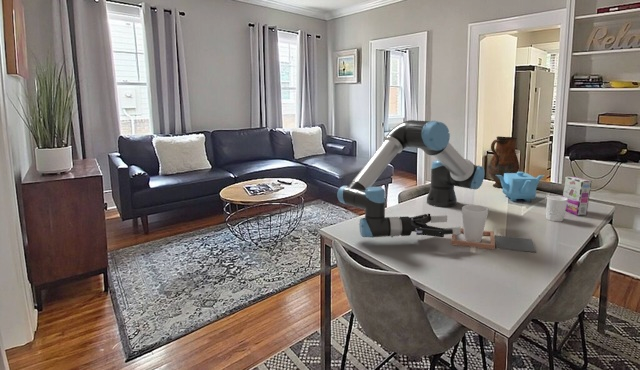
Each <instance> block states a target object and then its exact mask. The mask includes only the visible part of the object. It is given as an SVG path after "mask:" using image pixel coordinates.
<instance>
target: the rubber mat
mask: <svg viewBox="0 0 640 370" xmlns="http://www.w3.org/2000/svg"><path fill="white" fill-rule="evenodd" d="M494 238H495V247H496V249H500V250H508V251H517V252H524V253H534V254H536V253H537V250H536V247H535V244H534V242H533V239H532V238H526V237H515V236H514V237H513V236H505V235H497V234H496V235H495V234H494Z"/></svg>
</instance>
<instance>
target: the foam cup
mask: <svg viewBox="0 0 640 370" xmlns="http://www.w3.org/2000/svg"><path fill="white" fill-rule="evenodd" d="M488 215H489V209H488V207H485V206H483V205H479V204H466V205H463V206H462V207H461V216H462V228H463V231H464V233H463V239H464V241H469V242H478V243H482V242H481V241H482V239H483V236H484V235H483V231H485V225H486V222H487V217H488Z"/></svg>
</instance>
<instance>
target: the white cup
mask: <svg viewBox="0 0 640 370" xmlns="http://www.w3.org/2000/svg"><path fill="white" fill-rule="evenodd" d="M567 201H568V199H567V198H565V197H563V196H560V195H548V196H547V198H546V205H545V207H546V209H545V213H546V215H545V218H546V220H548V221H552V222H564V218H565V216H566V215H565V214H566V212H567V211H566V206H567Z"/></svg>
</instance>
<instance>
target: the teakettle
mask: <svg viewBox="0 0 640 370" xmlns="http://www.w3.org/2000/svg"><path fill="white" fill-rule="evenodd" d="M496 176H498V177H499V178H500V181H501V185H502V187H503V188H502V191H501V192H502V193H503V194H504V195H505V198H508V199H510V200H509V201H511V202H517V200H523V201H525V202H531V200H535V199H536V196H537V187H538V185H539V183H540V181H541V179H542V178H543V177H545V176H546V174H544V175H543V174H541V175H538V176H536V177H535V176H533V175H531V174H529V173H528V172H526V173H525V172H524V171H518V172H517V173H504V178H503V176H501V175H496Z"/></svg>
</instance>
